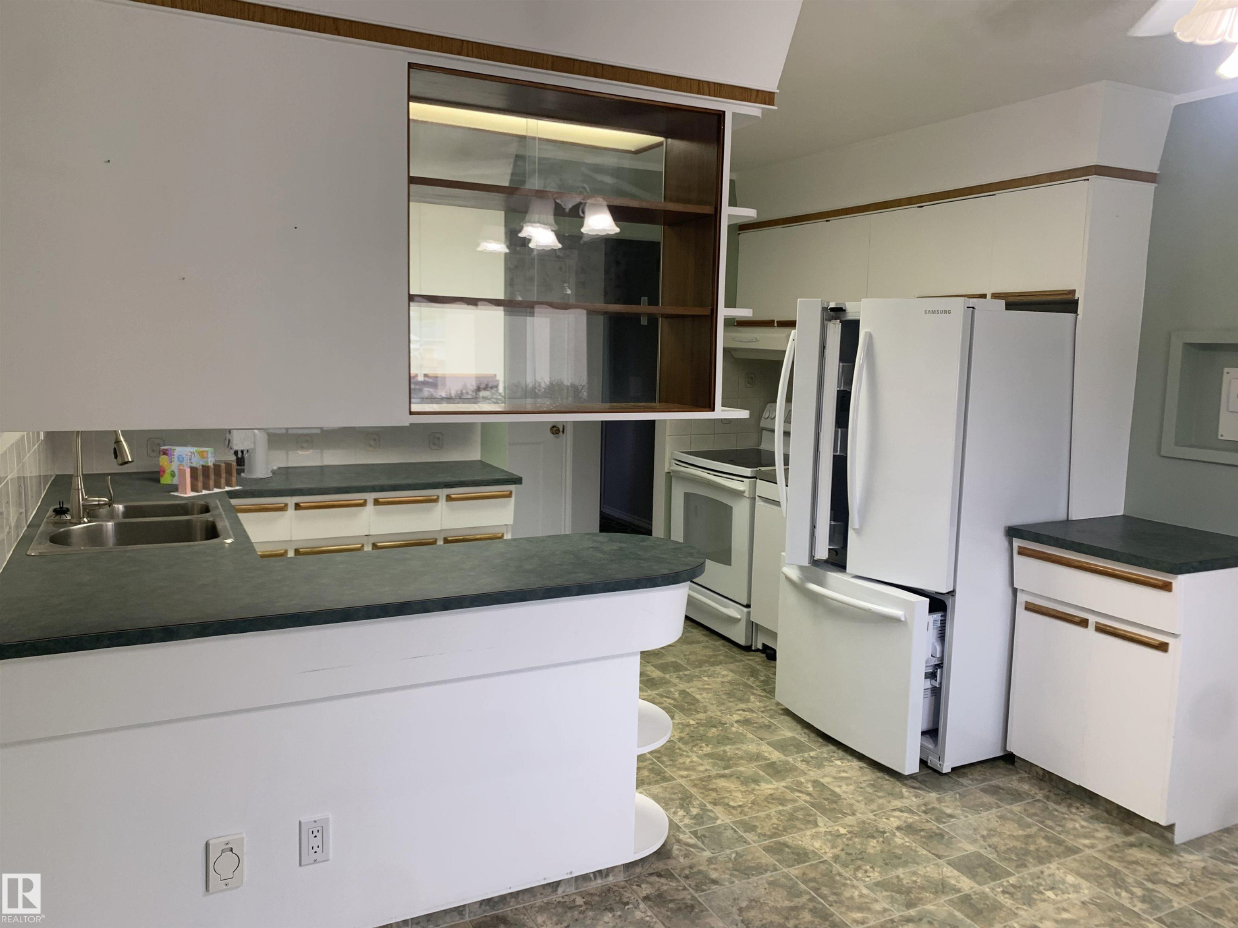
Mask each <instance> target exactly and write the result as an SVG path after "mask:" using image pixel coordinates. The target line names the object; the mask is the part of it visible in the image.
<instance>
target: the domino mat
mask: <svg viewBox="0 0 1238 928" xmlns="http://www.w3.org/2000/svg"><path fill="white" fill-rule="evenodd" d="M242 488H243V487H242V486H237V485H236V487H235V488H231V487H226V486H225V489H216V488H214V491H206V490H202V491H203V493H196V492H191V494H190V495H185V494H180V493H179V491H176V492H169V494H170V495H175V496H180V497H185V498H186V497H193V496H198V495H204V494H205V495H206V494H212V493H217V492H218V493H219V492H223V491H224V492H225V491H230V490H237V489H238V490H239V489H242Z"/></svg>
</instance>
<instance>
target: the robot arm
mask: <svg viewBox="0 0 1238 928" xmlns="http://www.w3.org/2000/svg"><path fill="white" fill-rule="evenodd" d="M268 438H269V437H268V434H267V432H266V431H265V430H228V429H227V431H226V448H227V453H229V454H232V455H234V457H235V463H236V467H238V468H243V467H244V472H241V473H240V477H242V478H248V479H249V478H250V479H251V478H252V479H264V478H265V479H266V478H270V477H272V476H273V472H272V471H277V470H278V469H279V468H278V465H271V464H269V445H268V444H269V442H268V440H269V439H268Z"/></svg>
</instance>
